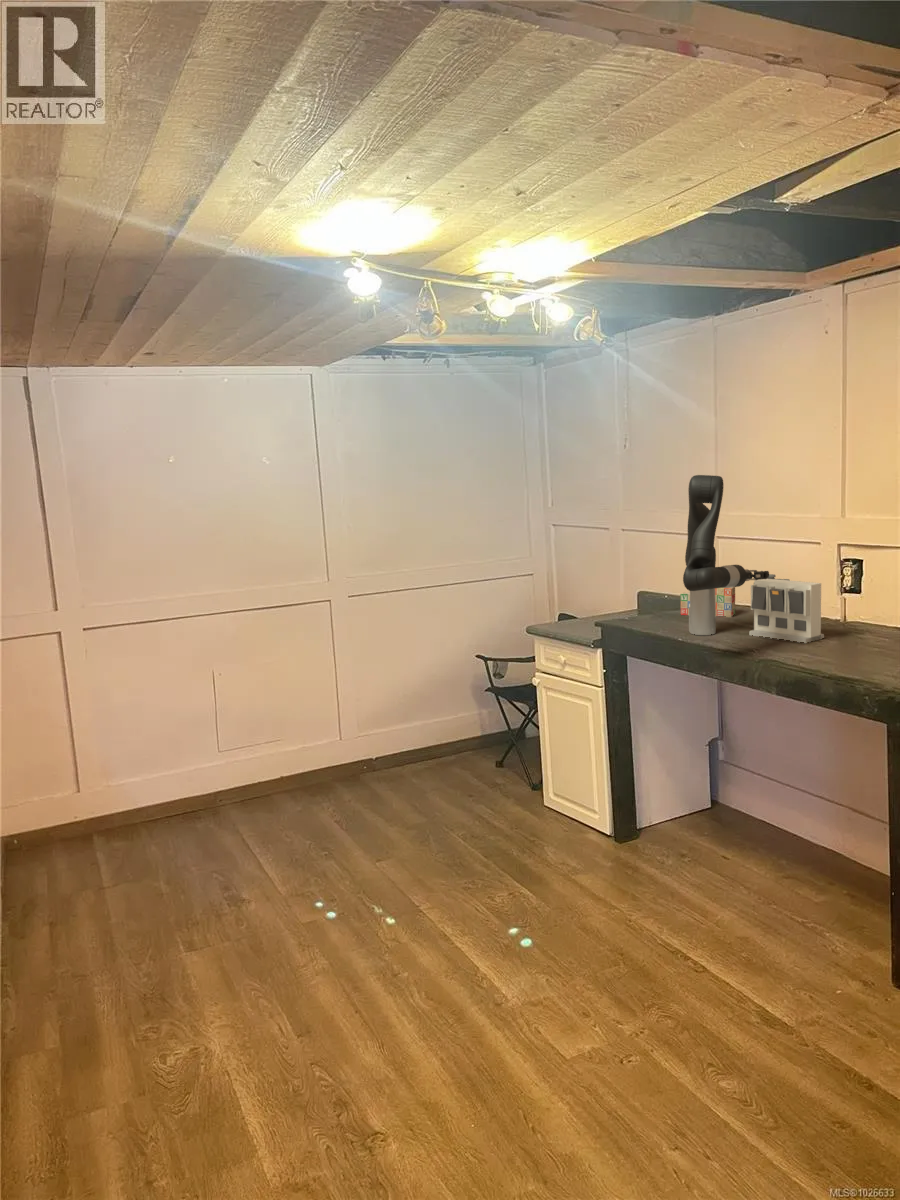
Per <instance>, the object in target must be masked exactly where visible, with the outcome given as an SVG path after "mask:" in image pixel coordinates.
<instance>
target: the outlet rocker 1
mask: <svg viewBox="0 0 900 1200" xmlns="http://www.w3.org/2000/svg"><path fill="white" fill-rule="evenodd" d="M769 592H770V599H771V605H772V611H779V612H784V595H785V592H784V589H774V588H771V589H770V590H769Z"/></svg>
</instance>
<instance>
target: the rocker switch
mask: <svg viewBox="0 0 900 1200" xmlns="http://www.w3.org/2000/svg"><path fill="white" fill-rule="evenodd" d="M751 608H753V609H760V610H766V588H765V587H754V593H753V599H752V606H751V605H750V609H751Z"/></svg>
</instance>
